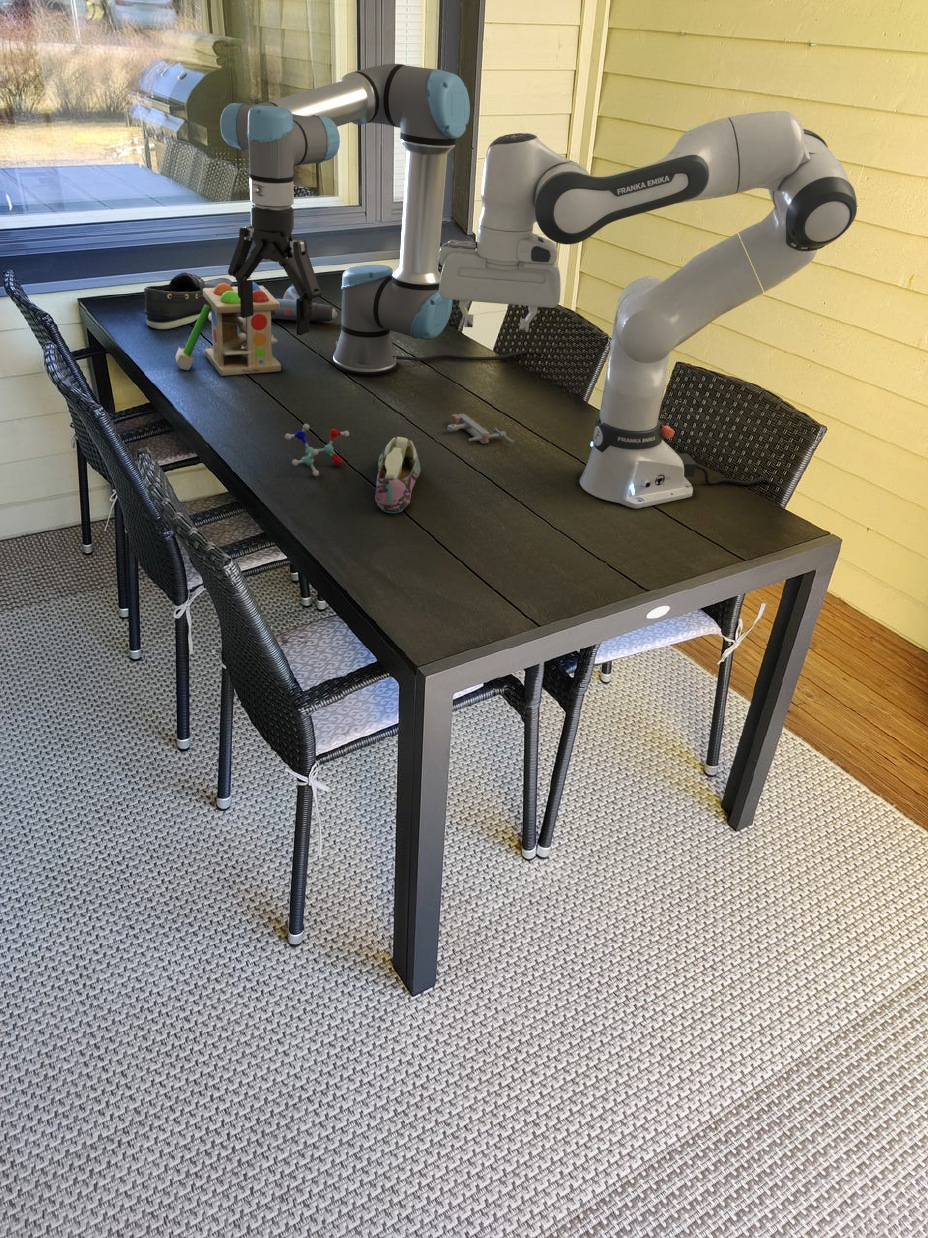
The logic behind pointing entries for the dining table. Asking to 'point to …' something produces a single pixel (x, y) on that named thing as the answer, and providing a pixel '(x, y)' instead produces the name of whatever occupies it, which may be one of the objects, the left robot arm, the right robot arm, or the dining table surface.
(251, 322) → the pounding bench toy
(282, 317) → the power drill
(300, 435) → the molecular model
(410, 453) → the ballet flat
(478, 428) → the clamp
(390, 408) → the dining table surface
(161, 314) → the boat shoe
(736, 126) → the right robot arm
